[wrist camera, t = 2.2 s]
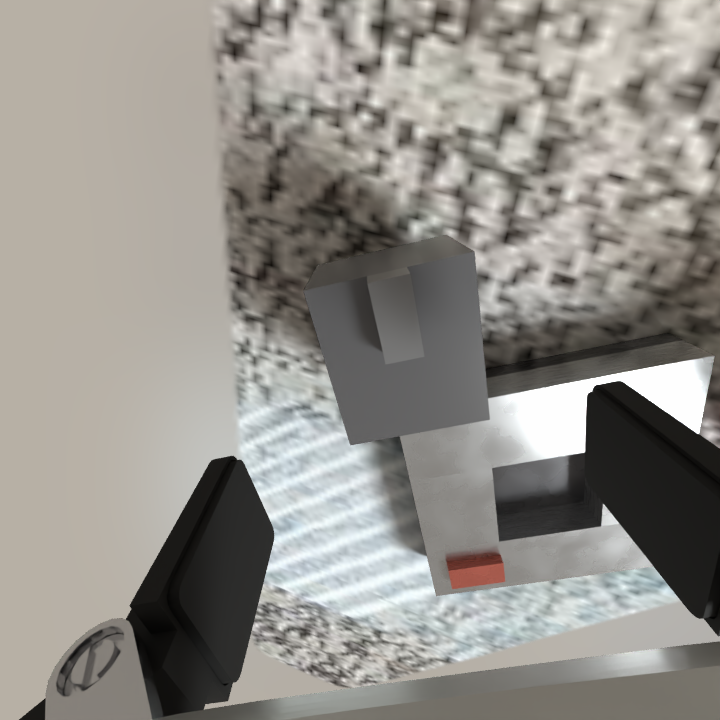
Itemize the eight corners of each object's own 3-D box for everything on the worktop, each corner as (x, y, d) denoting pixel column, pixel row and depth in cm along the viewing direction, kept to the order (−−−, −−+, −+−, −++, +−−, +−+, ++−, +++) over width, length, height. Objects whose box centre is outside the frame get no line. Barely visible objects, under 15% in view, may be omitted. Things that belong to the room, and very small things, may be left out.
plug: (322, 256, 19) (298, 299, 12) (437, 229, 18) (483, 257, 11) (353, 373, 22) (349, 461, 15) (453, 352, 21) (497, 434, 14)
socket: (391, 387, 22) (395, 422, 19) (668, 333, 21) (725, 361, 17) (429, 557, 29) (437, 604, 26) (640, 526, 27) (678, 572, 24)
